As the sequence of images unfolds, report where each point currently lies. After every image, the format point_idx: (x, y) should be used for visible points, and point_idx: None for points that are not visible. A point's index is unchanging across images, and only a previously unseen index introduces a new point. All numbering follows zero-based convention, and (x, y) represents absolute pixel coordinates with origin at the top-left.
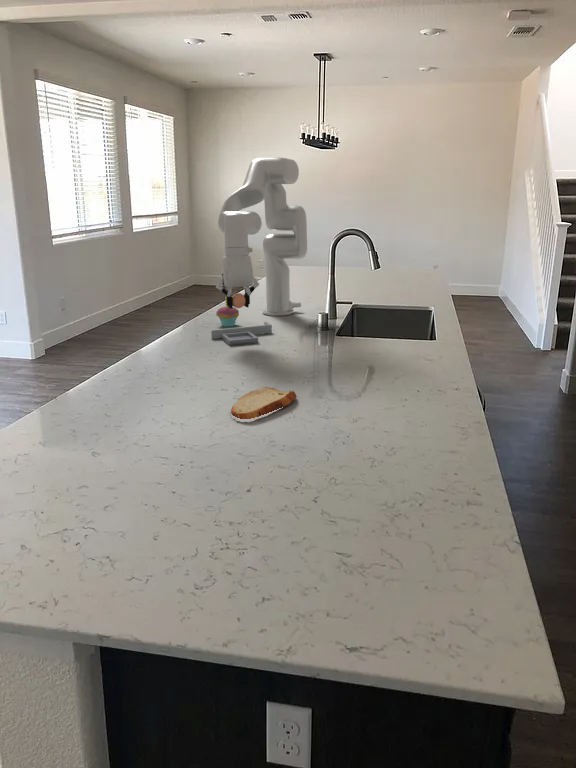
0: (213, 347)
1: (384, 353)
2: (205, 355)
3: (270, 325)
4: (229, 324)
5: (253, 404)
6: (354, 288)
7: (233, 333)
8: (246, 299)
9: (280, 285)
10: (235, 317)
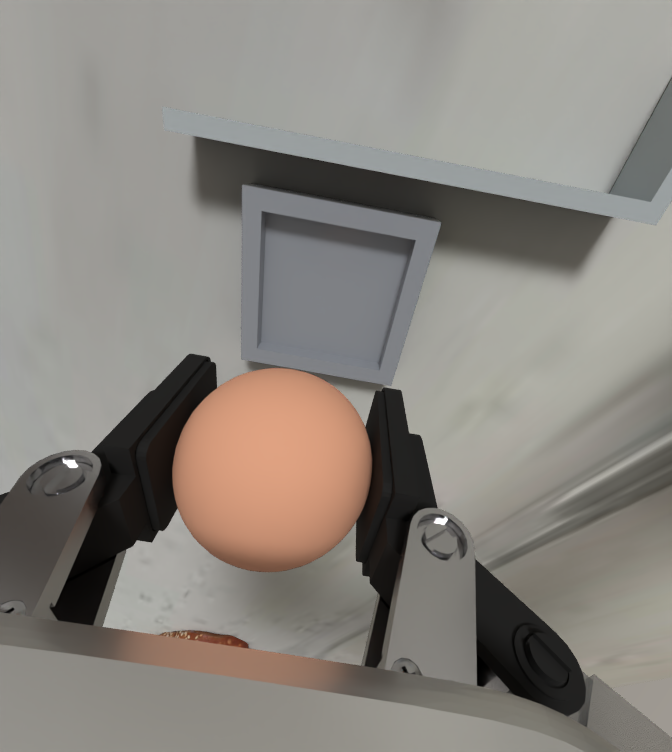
0: (171, 327)
1: (599, 614)
2: (125, 410)
3: (642, 221)
4: None
5: None
6: None
7: (321, 219)
8: (357, 525)
9: None
10: None
